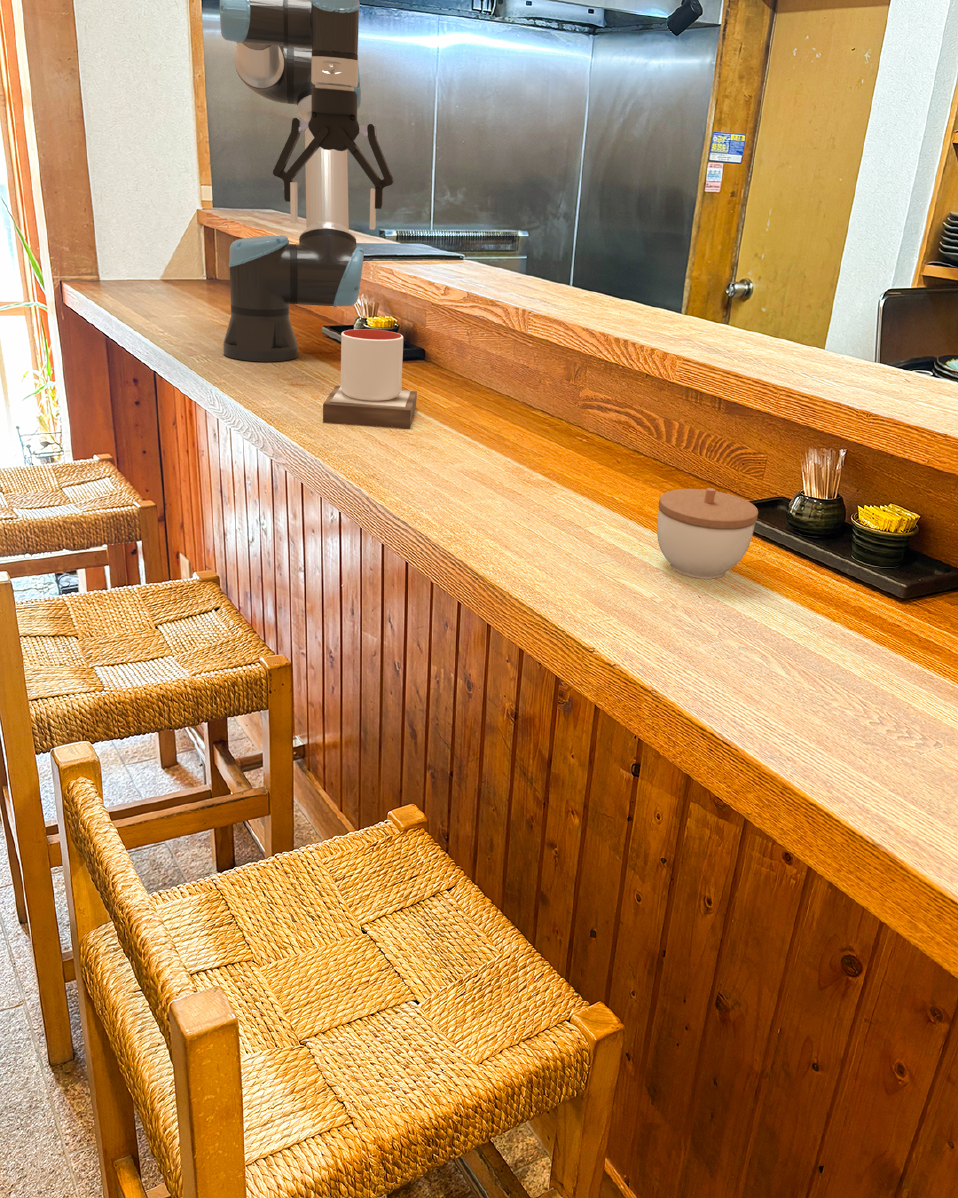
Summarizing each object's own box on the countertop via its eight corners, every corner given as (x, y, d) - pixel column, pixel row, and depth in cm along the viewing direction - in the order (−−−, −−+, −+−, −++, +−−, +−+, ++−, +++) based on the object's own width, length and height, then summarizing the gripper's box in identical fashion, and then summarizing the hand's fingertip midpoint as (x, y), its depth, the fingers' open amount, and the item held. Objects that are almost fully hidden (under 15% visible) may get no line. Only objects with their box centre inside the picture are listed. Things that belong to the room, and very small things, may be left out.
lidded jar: (762, 571, 111) (778, 492, 107) (716, 596, 104) (731, 512, 100) (680, 544, 117) (693, 468, 113) (631, 565, 110) (642, 485, 106)
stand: (335, 402, 170) (335, 383, 169) (416, 408, 170) (416, 389, 169) (322, 422, 157) (323, 402, 156) (409, 428, 158) (410, 408, 156)
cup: (392, 405, 157) (395, 342, 153) (333, 398, 159) (333, 335, 155) (407, 392, 166) (409, 332, 162) (350, 386, 168) (351, 326, 164)
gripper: (253, 80, 157) (256, 221, 166) (408, 93, 158) (403, 233, 167) (263, 82, 164) (265, 218, 173) (411, 95, 164) (406, 229, 173)
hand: (333, 225), depth 170 cm, fingers open, 13 cm apart
